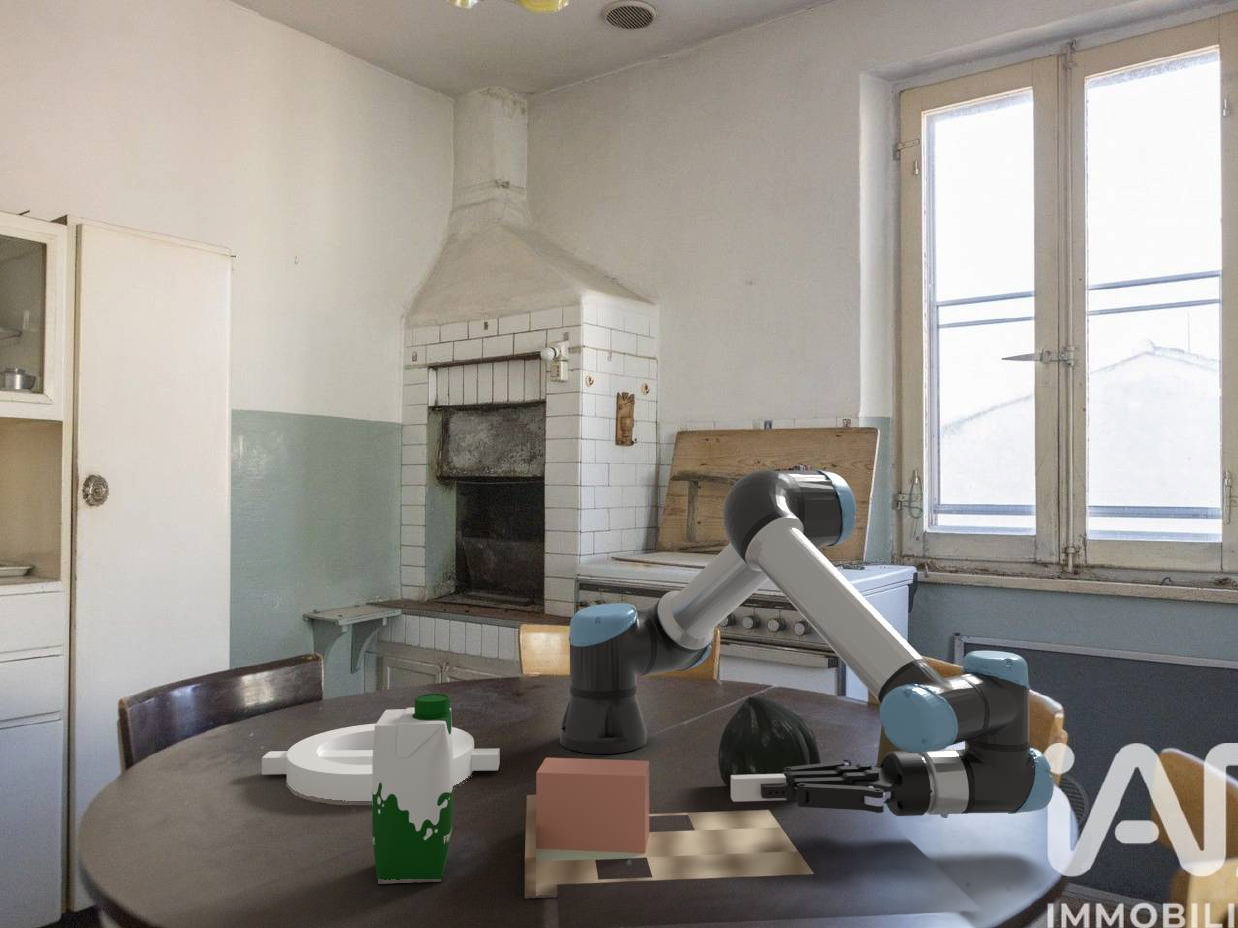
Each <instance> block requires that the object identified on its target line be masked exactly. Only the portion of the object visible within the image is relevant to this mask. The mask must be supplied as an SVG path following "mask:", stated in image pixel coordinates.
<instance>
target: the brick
mask: <svg viewBox="0 0 1238 928" xmlns="http://www.w3.org/2000/svg"><path fill="white" fill-rule="evenodd" d="M535 773H536V785H535V787H536V789H535V790H536V794H535V795H536V849H557V850H581V851H604V852H627V853H645V852H646V847H647V842H648V838H649V832H650V816H649V814H650V761H649V760H634V759H632V760H631V759H630V760H629V759H605V758H603V759H602V758H601V759H599V758H572V757H571V758H570V757H569V758H568V757H545V758H544V760H543V762H542V763H541V765H540V766H539V768H538V769H537V770H536V772H535Z"/></svg>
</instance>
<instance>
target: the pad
mask: <svg viewBox="0 0 1238 928" xmlns="http://www.w3.org/2000/svg"><path fill="white" fill-rule="evenodd" d="M588 859H595V861H596V860H597V861H599V860H621V859H622V860H623V859H624V860H625V859H639V858H638V855H637V853H627V852H604V851H581V850H557V849H536V862H537V861H561V860H562V861H563V860H588Z"/></svg>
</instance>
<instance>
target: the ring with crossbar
mask: <svg viewBox="0 0 1238 928" xmlns="http://www.w3.org/2000/svg"><path fill="white" fill-rule="evenodd" d="M375 725H376V723H369V724H367V723H366V724H359V725H352V726H347V727H346V726H345V727H341V728H335V729H331V730H328V731H324V732H321V733H317V734H314V735H312V736H311V735H310V736H308V737H306V738H304V739H301V740H300V741H298V742H296V743H294V744H293V745H292V746H291V747H289V748H288V750H287V751H286V750H285V751H284V750H283V751H282V750H279V751H278V750H277V751H275V750H274V751H273V750H272V751H268V752H267V753H266V754H264V755H263V756H262V757H261V775H286V784H287V783H288V785H289V786H290V787H291V788H292V789H293V790H295V791H297V792H299V793H301V794H304V795H306V796H314V797H317V798H324V799H332V800H343V801H344V800H345V801H372V761H373V744H374V730H375ZM452 742H453V786H454V785H456V784H459V783H460V782H462V781H463V780H465V779H466V778H468V776H470V775H471V773H472V772H473V771H474V772H476V771H478V772H479V771H498V770H499V767H500V763H501V762H500V760H501V757H500V755H501V753H500V752H501V750H500V748H497V747H496V748H475V739H474V737H473V735H472V734H470V733H468V732H467V731H465V730H463V729H460V728H457V727H454V726H452Z"/></svg>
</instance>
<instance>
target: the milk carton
mask: <svg viewBox="0 0 1238 928" xmlns="http://www.w3.org/2000/svg"><path fill="white" fill-rule="evenodd" d="M452 723H453V722H452V708H451V707H450V696H449V695H447V694H443V693H429V694H427V693H426V694H421V695H418V696H416V697H415V698H414V707H406V708H403V709H399V708H398V709H393V708H392V709H385V711H384V712H383V713H382V714H381V716H380V718H379V719H378V721H376V723H375V724H376V725H375V730H374V744H373V761H372V806H371V807H372V808H371V810H372V811H371V816H372V818H371V820H372V822H371V825H372V826H371V829H372V830H371V831H372V832H371V833H372V847H373V853H374V854H373V855H374V864H375V865H374V866H375V872H376V874H375V875H376V880H377V879H382V880H383V879H384V880H387V879H388V880H391V879H396V880H400V879H441V878H442V879H443V877H442V876H444V873H443V872H445V869H446V865H445V864H447V861H446V860H448V857H447V856H449V849H450V844H451V837H452V830H453V823H454V822H453V819H454V789H453V742H452V727H453V724H452ZM444 868H445V869H444Z"/></svg>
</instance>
